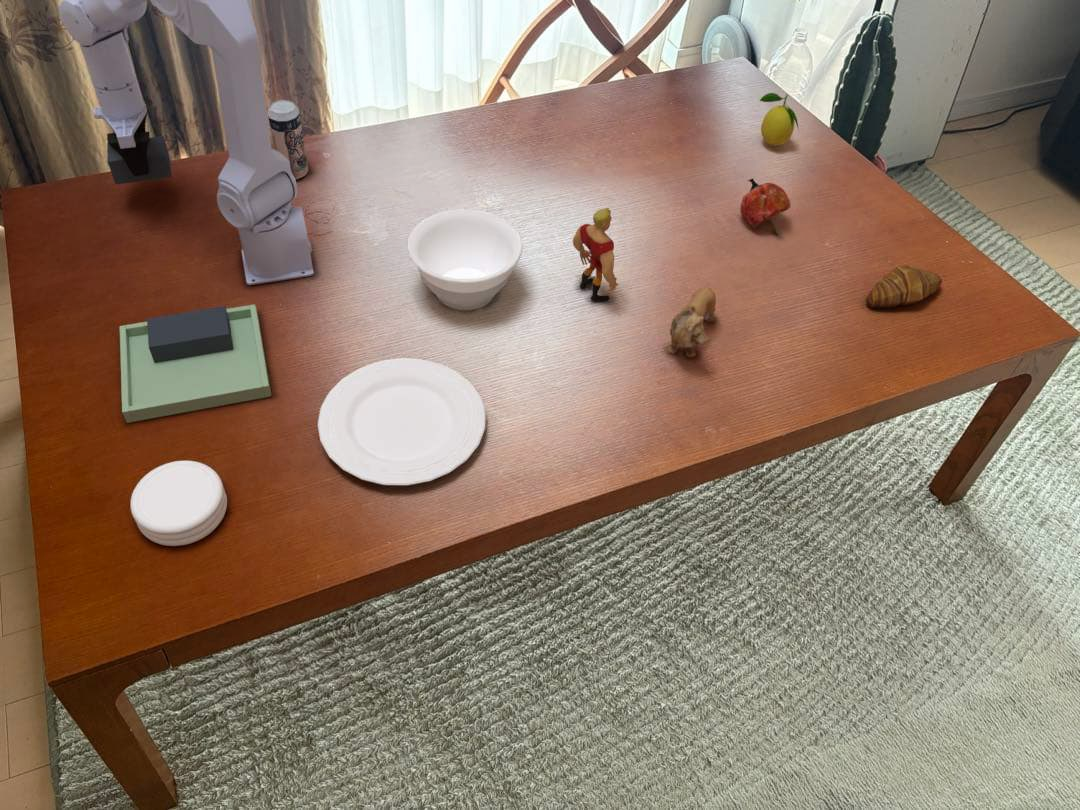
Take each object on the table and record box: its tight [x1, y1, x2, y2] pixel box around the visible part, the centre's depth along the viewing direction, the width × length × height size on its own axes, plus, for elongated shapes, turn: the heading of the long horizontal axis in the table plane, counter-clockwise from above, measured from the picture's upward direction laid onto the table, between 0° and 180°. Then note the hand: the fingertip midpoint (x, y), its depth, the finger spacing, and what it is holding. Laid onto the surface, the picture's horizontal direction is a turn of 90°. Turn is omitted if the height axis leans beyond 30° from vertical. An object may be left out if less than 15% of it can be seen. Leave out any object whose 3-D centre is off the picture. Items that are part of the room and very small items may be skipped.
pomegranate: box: [740, 178, 791, 237], centre depth 146 cm, size 7×7×10 cm
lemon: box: [759, 92, 800, 147], centre depth 160 cm, size 7×6×10 cm
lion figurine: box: [667, 287, 717, 358], centre depth 127 cm, size 15×5×9 cm, turn 162°
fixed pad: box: [146, 305, 233, 363], centre depth 122 cm, size 10×6×3 cm, turn 108°
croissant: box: [865, 265, 943, 309], centre depth 137 cm, size 14×7×5 cm, turn 115°
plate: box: [317, 357, 487, 487], centre depth 116 cm, size 21×21×2 cm
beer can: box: [267, 99, 309, 180], centre depth 146 cm, size 5×5×12 cm
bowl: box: [406, 208, 524, 311], centre depth 131 cm, size 16×16×8 cm
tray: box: [119, 304, 272, 424], centre depth 121 cm, size 18×16×2 cm
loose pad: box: [106, 135, 173, 185], centre depth 138 cm, size 8×5×4 cm, turn 108°
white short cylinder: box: [130, 460, 228, 547], centre depth 105 cm, size 10×10×4 cm
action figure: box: [572, 207, 619, 303], centre depth 130 cm, size 10×4×15 cm, turn 31°
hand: (140, 163), depth 139 cm, fingers closed on loose pad, 5 cm apart
